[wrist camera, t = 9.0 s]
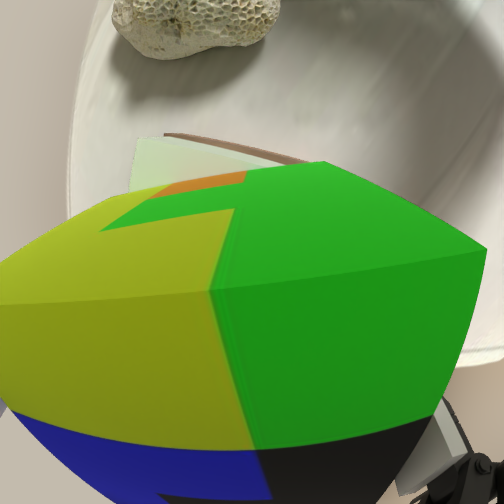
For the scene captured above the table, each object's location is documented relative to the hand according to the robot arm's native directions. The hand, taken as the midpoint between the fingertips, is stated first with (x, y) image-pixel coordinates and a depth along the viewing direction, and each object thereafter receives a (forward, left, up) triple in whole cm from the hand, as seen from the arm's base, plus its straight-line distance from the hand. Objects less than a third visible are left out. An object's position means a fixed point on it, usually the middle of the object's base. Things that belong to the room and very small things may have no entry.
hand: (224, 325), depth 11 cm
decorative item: (-17, -7, -14) cm, 23 cm away
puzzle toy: (0, 0, -4) cm, 4 cm away
